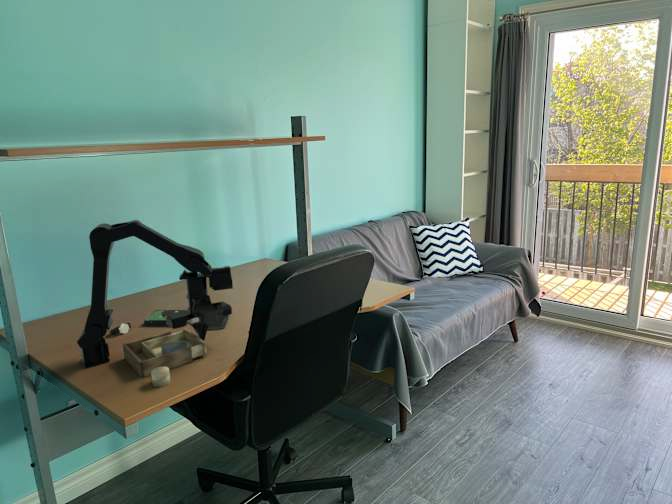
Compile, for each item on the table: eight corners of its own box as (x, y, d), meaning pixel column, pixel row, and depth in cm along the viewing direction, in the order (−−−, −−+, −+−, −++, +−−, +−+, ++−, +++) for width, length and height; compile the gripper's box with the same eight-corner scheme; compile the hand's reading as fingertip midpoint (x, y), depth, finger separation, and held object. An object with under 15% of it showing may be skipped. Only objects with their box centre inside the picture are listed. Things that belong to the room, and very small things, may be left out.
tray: (159, 369, 136) (158, 356, 135) (141, 352, 148) (140, 339, 147) (210, 354, 145) (209, 341, 144) (189, 338, 156) (188, 326, 155)
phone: (200, 328, 164) (208, 312, 179) (200, 331, 164) (208, 315, 179) (224, 327, 164) (230, 311, 179) (224, 330, 165) (231, 314, 179)
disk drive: (196, 316, 179) (156, 316, 180) (196, 309, 178) (155, 309, 179) (185, 328, 169) (143, 327, 170) (185, 320, 168) (142, 319, 169)
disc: (190, 352, 145) (189, 346, 145) (166, 359, 141) (165, 352, 141) (182, 344, 151) (181, 338, 150) (158, 351, 147) (158, 345, 146)
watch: (117, 338, 161) (116, 327, 160) (106, 336, 162) (104, 326, 162) (135, 329, 168) (133, 319, 167) (124, 327, 169) (123, 317, 168)
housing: (142, 378, 133) (140, 362, 132) (124, 358, 145) (122, 344, 144) (192, 362, 141) (191, 347, 140) (171, 345, 153) (170, 331, 152)
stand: (156, 388, 127) (154, 376, 126) (150, 382, 130) (148, 370, 130) (173, 382, 130) (171, 370, 129) (166, 376, 133) (165, 364, 132)
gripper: (177, 306, 136) (182, 359, 139) (238, 291, 147) (242, 340, 150) (162, 296, 144) (168, 346, 148) (221, 283, 155) (225, 330, 159)
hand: (202, 341), depth 151 cm, fingers closed
